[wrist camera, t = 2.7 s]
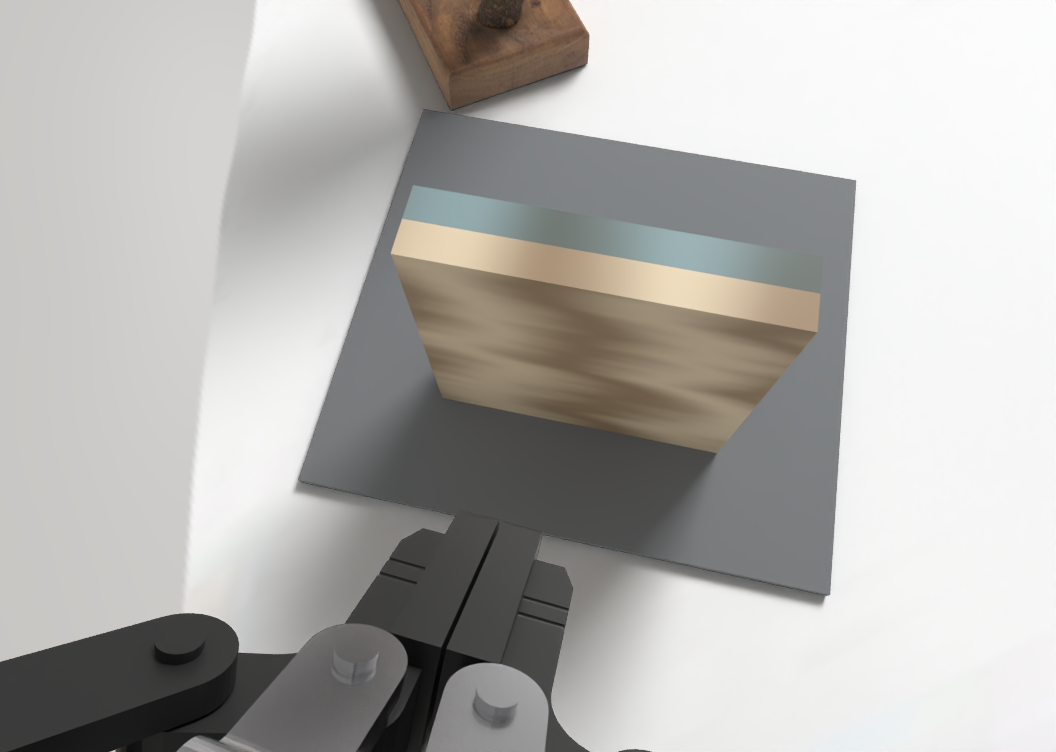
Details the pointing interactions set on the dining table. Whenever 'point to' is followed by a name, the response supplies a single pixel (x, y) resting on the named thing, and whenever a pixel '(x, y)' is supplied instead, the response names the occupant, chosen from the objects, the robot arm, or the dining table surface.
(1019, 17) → the dining table surface
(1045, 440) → the dining table surface
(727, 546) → the mat
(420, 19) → the bird figurine
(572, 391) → the board
